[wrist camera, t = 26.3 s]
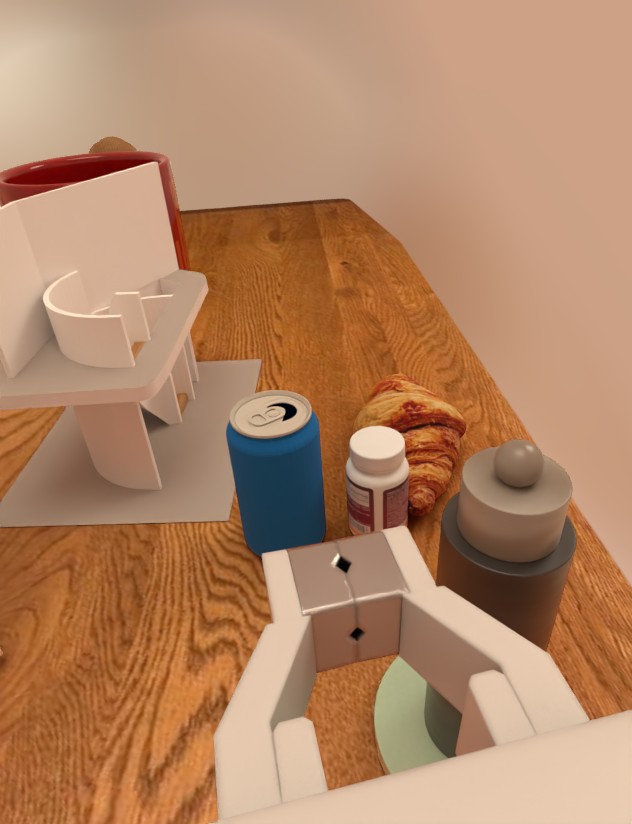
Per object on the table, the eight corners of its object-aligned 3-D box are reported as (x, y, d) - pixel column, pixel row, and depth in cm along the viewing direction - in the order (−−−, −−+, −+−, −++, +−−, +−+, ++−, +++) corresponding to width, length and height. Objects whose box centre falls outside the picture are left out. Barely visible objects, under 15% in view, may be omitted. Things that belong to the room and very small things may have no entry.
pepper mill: (496, 793, 28) (569, 514, 18) (406, 728, 31) (422, 454, 20) (536, 711, 31) (619, 433, 21) (452, 659, 34) (486, 391, 24)
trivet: (529, 908, 25) (533, 899, 25) (335, 751, 31) (334, 740, 31) (605, 713, 32) (610, 702, 32) (433, 615, 38) (434, 604, 38)
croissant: (370, 419, 64) (334, 365, 60) (452, 379, 61) (420, 320, 57) (386, 561, 46) (337, 497, 43) (503, 515, 43) (461, 442, 40)
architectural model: (228, 520, 47) (172, 239, 34) (-18, 527, 48) (-165, 257, 35) (262, 359, 70) (236, 155, 57) (95, 366, 71) (33, 167, 58)
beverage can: (342, 542, 44) (336, 416, 37) (271, 581, 41) (250, 452, 35) (298, 497, 49) (286, 377, 42) (231, 530, 46) (207, 407, 39)
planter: (76, 282, 97) (37, 155, 86) (208, 276, 96) (186, 146, 85) (13, 343, 78) (-47, 190, 67) (176, 336, 77) (143, 180, 66)
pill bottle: (403, 502, 47) (406, 420, 43) (410, 545, 43) (414, 460, 39) (346, 505, 47) (343, 423, 43) (348, 547, 43) (345, 463, 39)
